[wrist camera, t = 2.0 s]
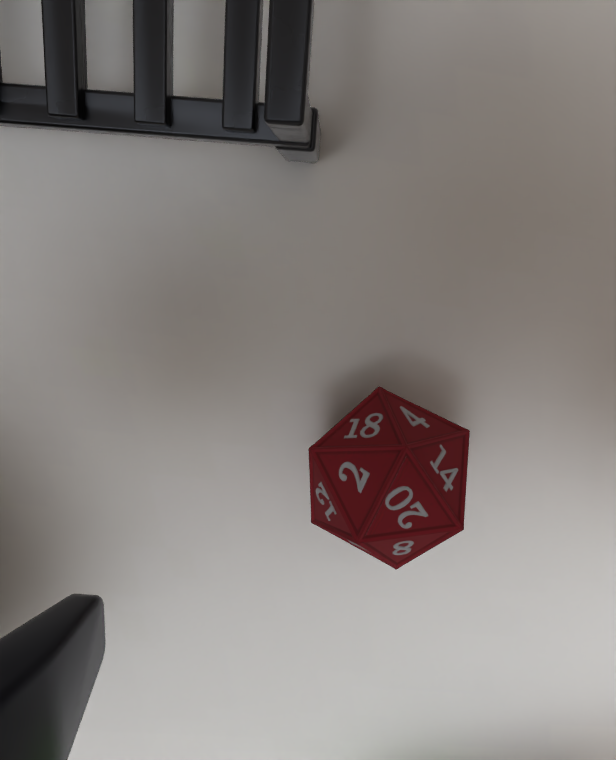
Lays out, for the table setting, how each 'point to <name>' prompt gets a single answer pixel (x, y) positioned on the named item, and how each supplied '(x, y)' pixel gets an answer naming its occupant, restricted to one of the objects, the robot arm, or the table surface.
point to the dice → (390, 478)
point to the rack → (155, 81)
